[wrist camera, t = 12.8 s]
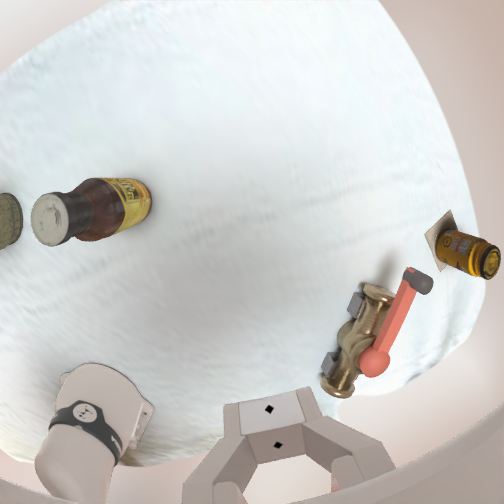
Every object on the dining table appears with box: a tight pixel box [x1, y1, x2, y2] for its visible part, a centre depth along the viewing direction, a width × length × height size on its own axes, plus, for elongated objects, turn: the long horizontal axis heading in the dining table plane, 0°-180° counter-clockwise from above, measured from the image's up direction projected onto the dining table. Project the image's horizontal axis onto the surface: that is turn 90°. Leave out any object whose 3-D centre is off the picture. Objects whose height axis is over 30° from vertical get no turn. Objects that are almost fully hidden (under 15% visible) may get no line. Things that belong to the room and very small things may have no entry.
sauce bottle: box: [31, 178, 152, 246], centre depth 27 cm, size 6×6×20 cm
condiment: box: [425, 210, 501, 280], centre depth 37 cm, size 7×8×12 cm
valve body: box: [320, 284, 396, 399], centre depth 41 cm, size 18×6×7 cm, turn 163°
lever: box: [358, 267, 433, 378], centre depth 34 cm, size 4×16×4 cm, turn 163°
